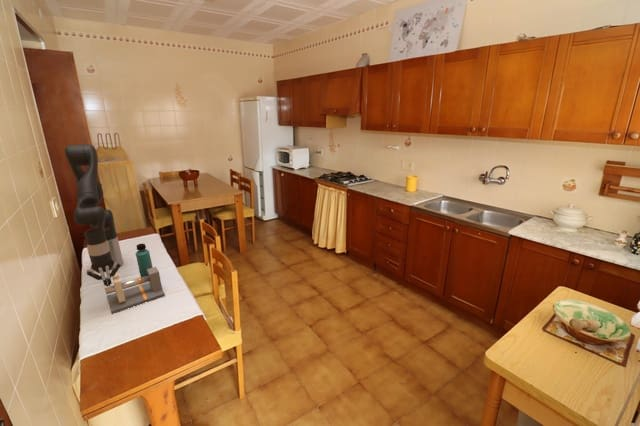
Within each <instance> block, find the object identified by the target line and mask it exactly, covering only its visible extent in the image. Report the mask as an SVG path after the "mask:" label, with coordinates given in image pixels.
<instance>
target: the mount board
mask: <svg viewBox="0 0 640 426" xmlns="http://www.w3.org/2000/svg"><path fill="white" fill-rule="evenodd" d="M147 272H148V275H149V277H150V281H149V282H146V283H143V284H139V285H136V286H133V287H129V288H126V289H123V292H124V296H125V300H126V301H123V302H120V303H119V300H118V297H117V294H116V292H113V293H110V294H107V295H106V298H107V302H108V305H109V306H108V307H109V309H110V313H111V314H110V315H114V313H115V314H116V313H120V312H123V311H126V310H128V308H129V309H132V308H134V307H133V306H135V307H137V305H138V306H140V304H141V305H143V303H144V304H146V303H145V302H147V303H149V302H153V301H155V300H157V299H161V298H163V297H166V294H165V292H164V290H163V287H162V281H161V276H160V271H159V270H158V267H156V266H153V268H150V269H147ZM131 307H132V308H131Z"/></svg>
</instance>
